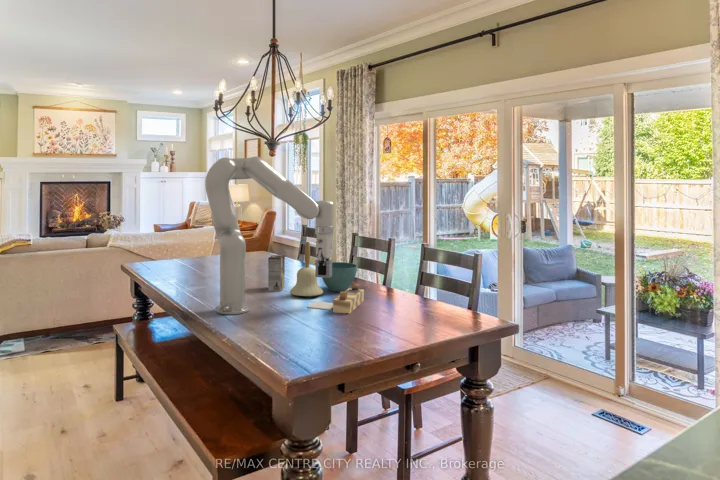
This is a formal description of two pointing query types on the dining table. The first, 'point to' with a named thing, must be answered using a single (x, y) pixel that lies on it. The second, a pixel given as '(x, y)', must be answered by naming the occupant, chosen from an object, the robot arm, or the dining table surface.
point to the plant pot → (341, 276)
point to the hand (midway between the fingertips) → (323, 273)
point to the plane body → (348, 299)
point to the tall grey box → (328, 269)
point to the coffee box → (276, 272)
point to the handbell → (306, 279)
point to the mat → (321, 305)
